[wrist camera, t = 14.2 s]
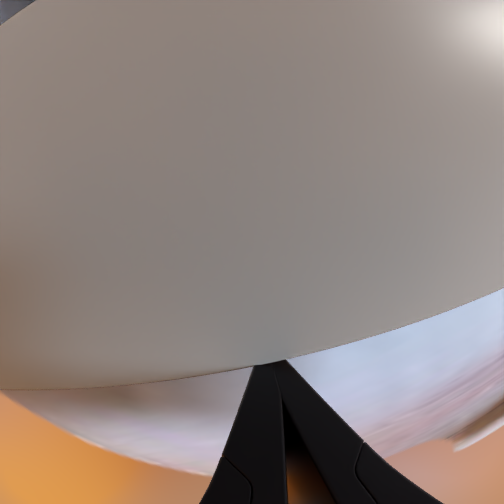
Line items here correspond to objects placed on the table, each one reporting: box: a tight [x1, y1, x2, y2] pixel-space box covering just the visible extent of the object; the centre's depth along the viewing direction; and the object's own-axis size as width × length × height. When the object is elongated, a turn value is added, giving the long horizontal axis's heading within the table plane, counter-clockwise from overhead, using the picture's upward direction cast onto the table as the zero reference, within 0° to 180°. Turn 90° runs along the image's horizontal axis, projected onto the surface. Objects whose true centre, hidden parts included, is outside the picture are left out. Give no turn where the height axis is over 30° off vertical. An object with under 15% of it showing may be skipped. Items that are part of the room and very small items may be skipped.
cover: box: [0, 0, 504, 390], centre depth 6 cm, size 23×9×1 cm, turn 104°
